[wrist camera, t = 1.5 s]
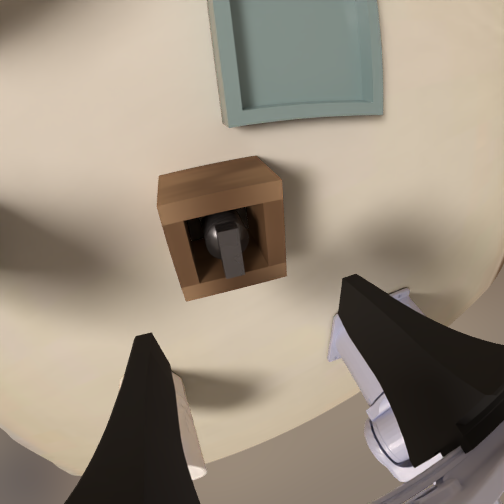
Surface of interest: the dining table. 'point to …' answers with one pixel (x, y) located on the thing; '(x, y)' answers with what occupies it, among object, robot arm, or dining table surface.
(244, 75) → the tray
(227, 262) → the dark grey rounded piece
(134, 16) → the dining table surface
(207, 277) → the collar
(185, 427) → the white cup
